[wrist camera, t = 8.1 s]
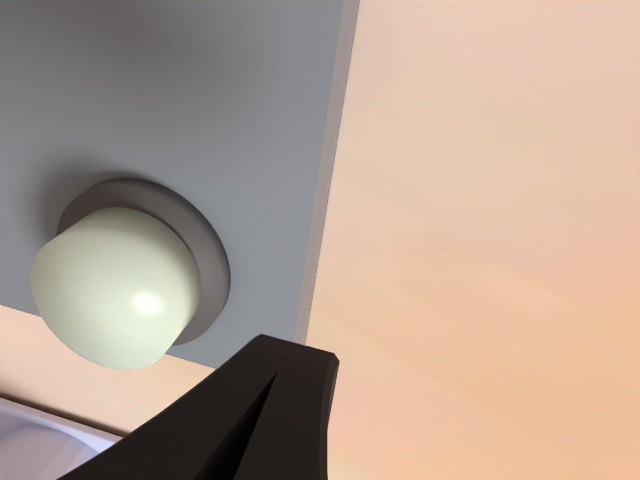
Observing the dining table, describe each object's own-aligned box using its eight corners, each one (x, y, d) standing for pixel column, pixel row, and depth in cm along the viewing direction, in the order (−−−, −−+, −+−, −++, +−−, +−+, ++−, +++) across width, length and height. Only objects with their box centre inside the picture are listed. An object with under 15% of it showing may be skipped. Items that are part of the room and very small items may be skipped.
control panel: (303, 353, 22) (280, 402, 20) (-163, 219, 25) (-229, 248, 23) (398, -245, 13) (377, -277, 11) (-319, -328, 17) (-445, -367, 14)
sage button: (198, 350, 19) (172, 387, 18) (74, 313, 20) (37, 346, 18) (204, 227, 17) (175, 258, 16) (64, 191, 18) (22, 216, 16)
